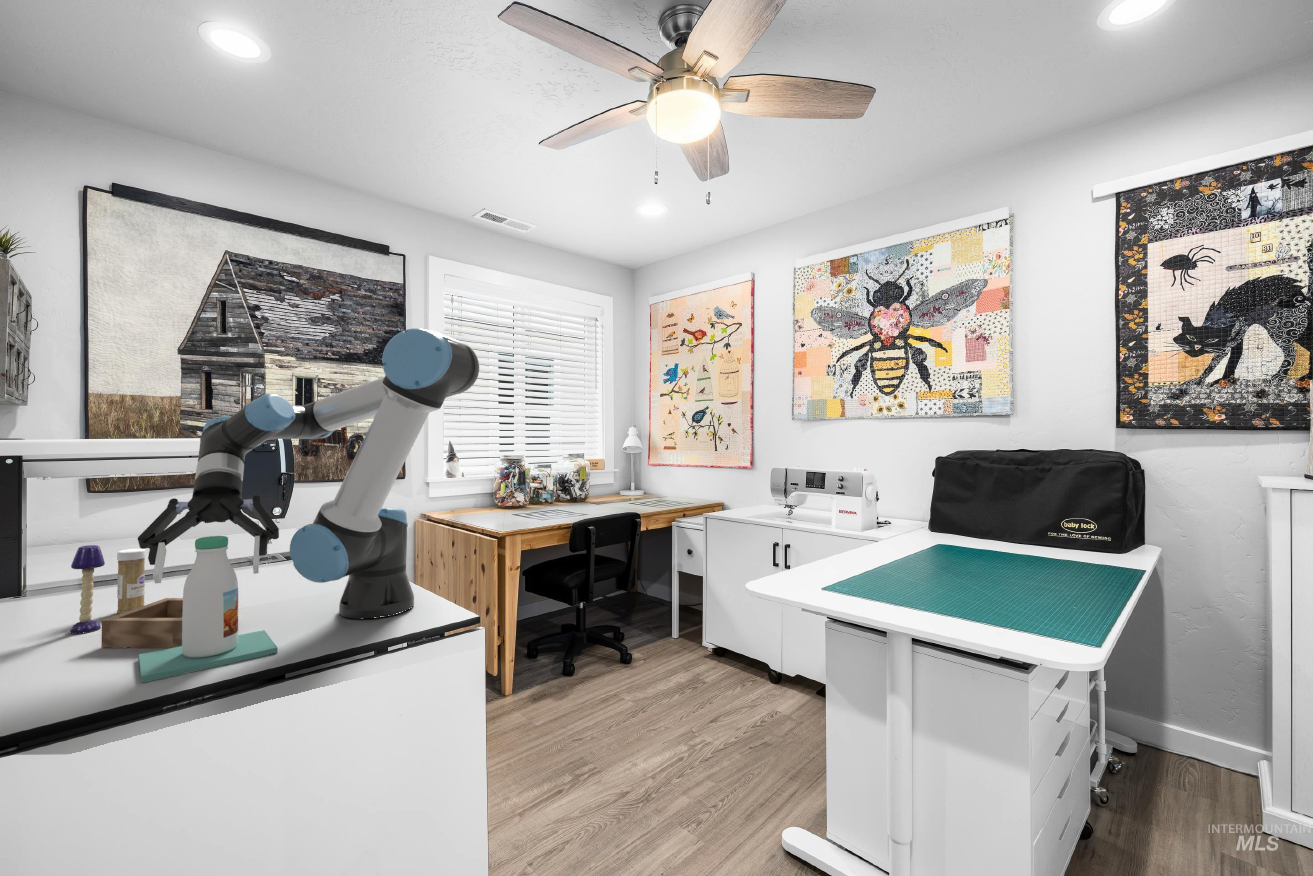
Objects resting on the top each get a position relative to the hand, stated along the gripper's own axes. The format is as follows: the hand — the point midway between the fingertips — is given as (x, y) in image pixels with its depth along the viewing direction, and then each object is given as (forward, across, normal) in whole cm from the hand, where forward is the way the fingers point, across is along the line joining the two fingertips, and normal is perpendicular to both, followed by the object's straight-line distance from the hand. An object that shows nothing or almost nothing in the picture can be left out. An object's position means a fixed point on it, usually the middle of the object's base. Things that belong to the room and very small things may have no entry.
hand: (208, 574), depth 98 cm
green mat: (+10, 0, -10) cm, 15 cm away
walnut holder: (-2, +7, -23) cm, 24 cm away
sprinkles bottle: (-17, +17, -38) cm, 46 cm away
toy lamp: (-9, +22, -30) cm, 39 cm away
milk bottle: (+10, 0, -10) cm, 14 cm away
